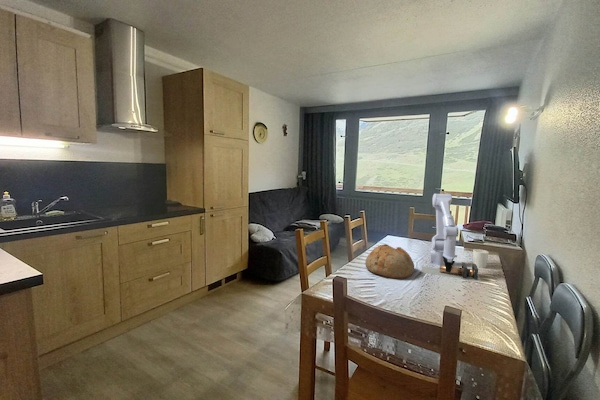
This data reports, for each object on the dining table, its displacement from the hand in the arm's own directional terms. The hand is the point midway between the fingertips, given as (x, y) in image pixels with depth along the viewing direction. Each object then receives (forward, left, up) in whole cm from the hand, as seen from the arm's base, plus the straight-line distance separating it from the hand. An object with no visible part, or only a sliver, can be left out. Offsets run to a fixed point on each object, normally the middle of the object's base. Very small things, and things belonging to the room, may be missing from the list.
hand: (447, 270), depth 157 cm
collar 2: (+13, 0, -1) cm, 13 cm away
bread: (-31, -10, -2) cm, 33 cm away
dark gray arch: (+8, 0, -1) cm, 8 cm away
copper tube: (+5, 0, -1) cm, 5 cm away
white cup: (+19, +21, -2) cm, 28 cm away
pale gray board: (+1, 0, -2) cm, 2 cm away
